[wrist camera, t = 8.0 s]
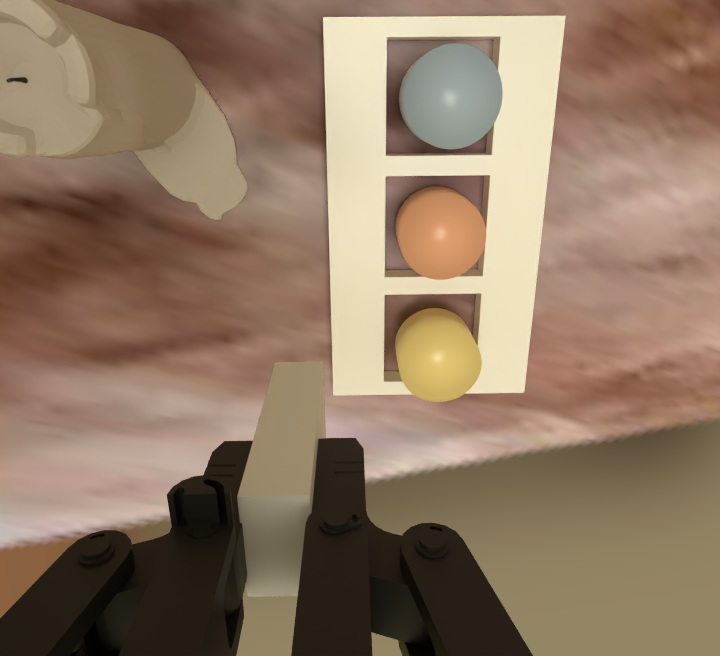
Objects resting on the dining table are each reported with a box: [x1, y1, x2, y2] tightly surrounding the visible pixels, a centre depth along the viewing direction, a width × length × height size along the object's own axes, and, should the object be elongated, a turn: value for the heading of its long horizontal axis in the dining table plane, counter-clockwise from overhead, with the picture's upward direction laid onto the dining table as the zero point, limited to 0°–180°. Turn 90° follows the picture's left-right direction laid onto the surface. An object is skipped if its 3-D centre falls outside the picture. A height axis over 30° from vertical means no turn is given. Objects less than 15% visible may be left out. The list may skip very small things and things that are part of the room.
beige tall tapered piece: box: [0, 0, 247, 220], centre depth 33 cm, size 7×14×20 cm, turn 33°
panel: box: [323, 16, 565, 395], centre depth 44 cm, size 16×28×2 cm, turn 0°
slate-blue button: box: [399, 43, 503, 149], centre depth 37 cm, size 6×6×4 cm
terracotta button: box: [395, 186, 486, 280], centre depth 42 cm, size 6×6×4 cm
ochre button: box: [395, 308, 482, 402], centre depth 43 cm, size 6×6×4 cm
